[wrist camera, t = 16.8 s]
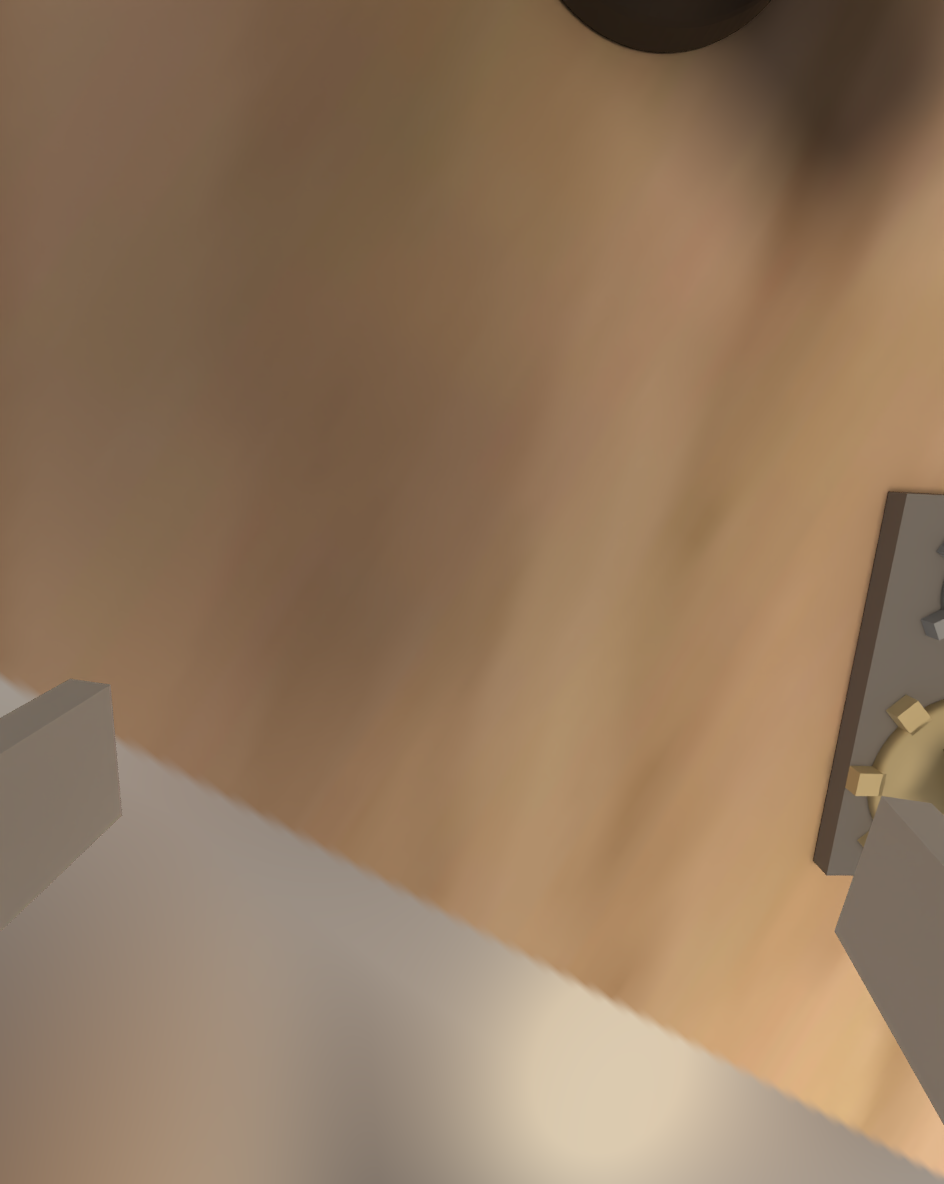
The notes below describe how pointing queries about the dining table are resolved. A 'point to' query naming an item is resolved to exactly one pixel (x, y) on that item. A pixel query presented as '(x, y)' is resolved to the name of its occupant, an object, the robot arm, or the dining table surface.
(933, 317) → the dining table surface
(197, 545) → the dining table surface
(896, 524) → the gear board
